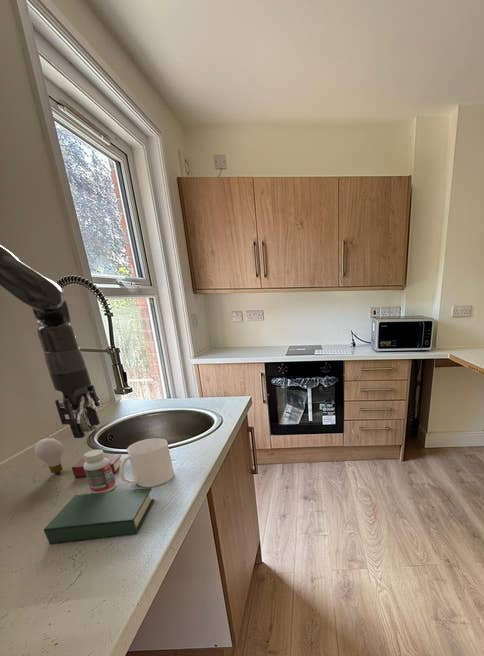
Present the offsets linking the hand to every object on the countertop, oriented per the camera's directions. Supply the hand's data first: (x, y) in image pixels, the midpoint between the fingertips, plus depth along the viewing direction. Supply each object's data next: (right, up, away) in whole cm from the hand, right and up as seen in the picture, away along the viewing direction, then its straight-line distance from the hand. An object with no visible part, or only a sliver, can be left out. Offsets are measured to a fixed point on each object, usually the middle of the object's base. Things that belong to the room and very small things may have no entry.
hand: (87, 430), depth 89 cm
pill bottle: (+7, -14, -4) cm, 16 cm away
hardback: (+15, -19, -16) cm, 29 cm away
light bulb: (-11, -12, +4) cm, 16 cm away
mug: (+16, -13, -1) cm, 21 cm away
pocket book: (0, -11, +5) cm, 12 cm away
